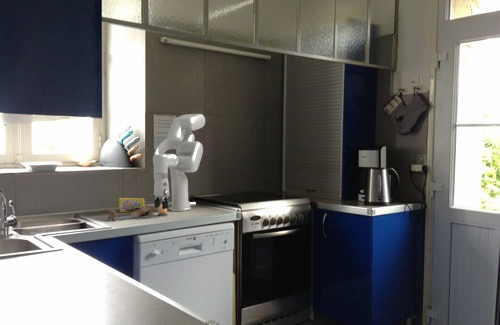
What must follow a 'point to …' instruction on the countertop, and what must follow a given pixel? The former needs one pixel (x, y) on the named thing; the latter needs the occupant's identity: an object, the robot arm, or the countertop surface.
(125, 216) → the runway
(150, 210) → the ramp
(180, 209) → the robot arm
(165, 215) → the cradle
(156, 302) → the countertop surface
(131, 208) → the candy box
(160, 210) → the ball
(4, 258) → the countertop surface
